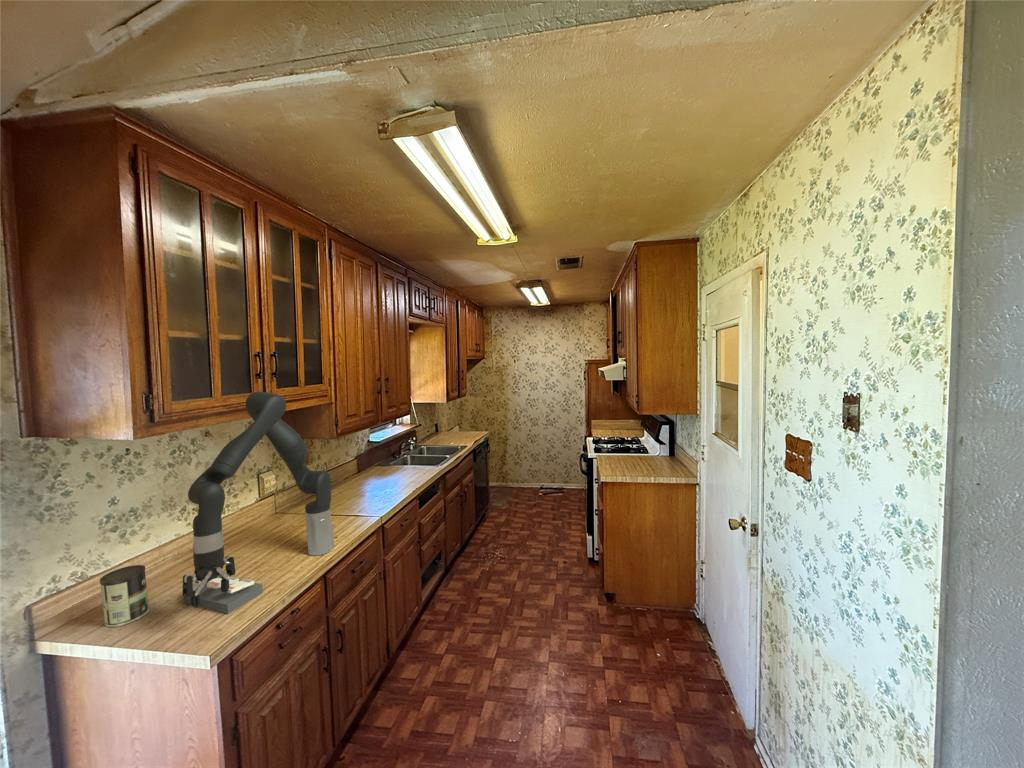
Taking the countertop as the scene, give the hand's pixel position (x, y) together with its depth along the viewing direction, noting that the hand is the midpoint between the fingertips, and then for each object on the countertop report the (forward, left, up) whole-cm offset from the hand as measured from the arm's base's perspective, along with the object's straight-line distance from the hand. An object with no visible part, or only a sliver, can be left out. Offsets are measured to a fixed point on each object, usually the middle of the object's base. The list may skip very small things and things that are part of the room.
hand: (210, 599), depth 125 cm
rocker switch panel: (-9, -7, -6) cm, 13 cm away
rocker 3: (-9, 0, -1) cm, 9 cm away
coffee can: (+7, -27, -6) cm, 29 cm away
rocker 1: (-9, -14, -1) cm, 17 cm away
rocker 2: (-9, -7, -1) cm, 11 cm away
